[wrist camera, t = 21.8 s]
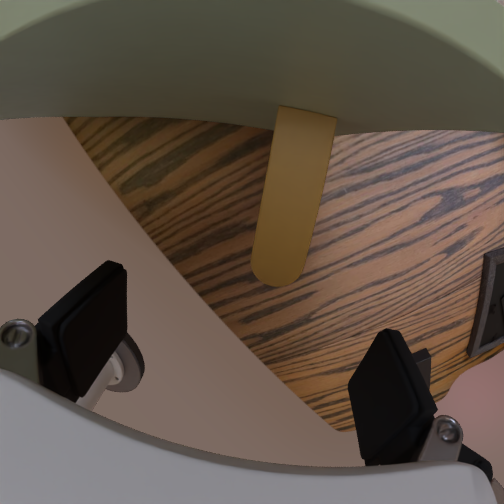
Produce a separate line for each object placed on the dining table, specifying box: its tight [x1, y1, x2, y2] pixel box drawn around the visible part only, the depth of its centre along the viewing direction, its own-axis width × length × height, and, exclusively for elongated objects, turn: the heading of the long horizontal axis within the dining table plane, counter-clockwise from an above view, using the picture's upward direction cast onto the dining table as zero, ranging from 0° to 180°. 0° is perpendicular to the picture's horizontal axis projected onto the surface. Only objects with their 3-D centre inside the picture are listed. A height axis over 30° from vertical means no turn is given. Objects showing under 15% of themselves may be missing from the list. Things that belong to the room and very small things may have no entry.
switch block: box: [412, 348, 431, 389], centre depth 35 cm, size 12×10×4 cm
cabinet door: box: [0, 0, 504, 287], centre depth 14 cm, size 7×24×26 cm, turn 80°
